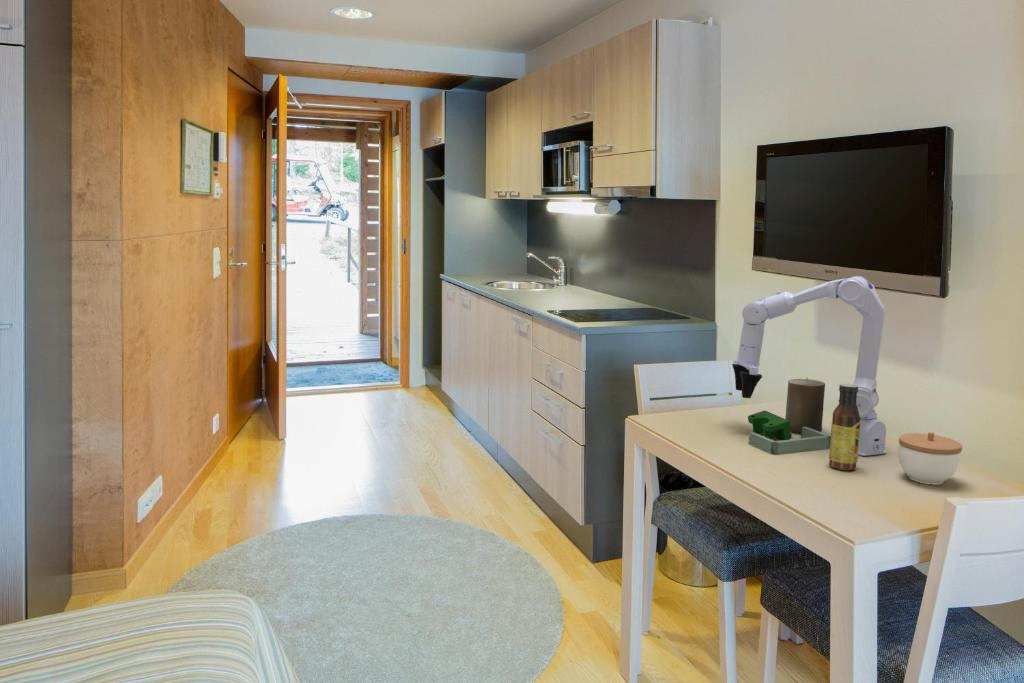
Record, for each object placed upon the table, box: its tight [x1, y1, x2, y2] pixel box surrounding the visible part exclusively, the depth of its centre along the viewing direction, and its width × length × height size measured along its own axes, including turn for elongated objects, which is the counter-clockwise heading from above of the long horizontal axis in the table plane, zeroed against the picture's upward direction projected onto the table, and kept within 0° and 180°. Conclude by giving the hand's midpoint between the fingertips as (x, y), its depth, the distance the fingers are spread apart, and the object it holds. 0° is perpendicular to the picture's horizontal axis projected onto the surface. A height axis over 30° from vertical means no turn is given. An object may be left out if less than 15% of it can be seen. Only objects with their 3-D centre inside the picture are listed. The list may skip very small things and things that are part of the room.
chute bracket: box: [748, 427, 831, 456], centre depth 201 cm, size 10×18×3 cm, turn 112°
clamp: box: [747, 409, 793, 441], centre depth 209 cm, size 12×6×9 cm, turn 10°
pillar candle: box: [784, 377, 826, 435], centre depth 216 cm, size 10×10×15 cm
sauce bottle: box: [828, 383, 861, 471], centre depth 184 cm, size 7×6×20 cm
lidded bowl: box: [898, 431, 963, 486], centre depth 177 cm, size 13×13×11 cm
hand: (743, 393), depth 214 cm, fingers open, 7 cm apart
